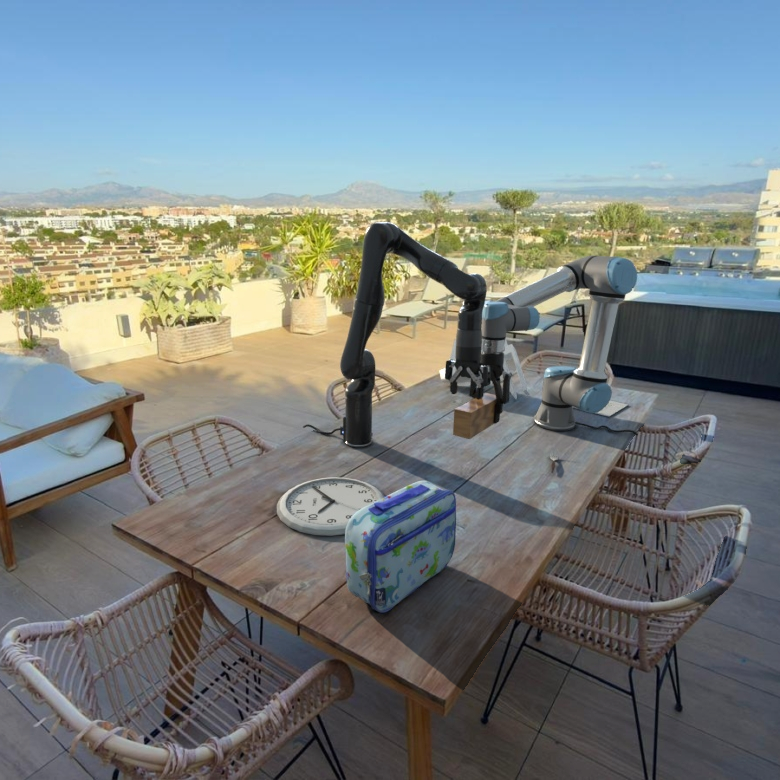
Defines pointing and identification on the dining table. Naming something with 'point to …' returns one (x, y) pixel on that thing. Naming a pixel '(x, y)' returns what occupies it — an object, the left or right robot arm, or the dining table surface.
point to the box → (474, 416)
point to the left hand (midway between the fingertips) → (466, 396)
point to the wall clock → (325, 504)
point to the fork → (554, 460)
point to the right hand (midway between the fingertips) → (487, 420)
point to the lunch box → (399, 543)
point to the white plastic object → (508, 355)
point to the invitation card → (611, 408)
